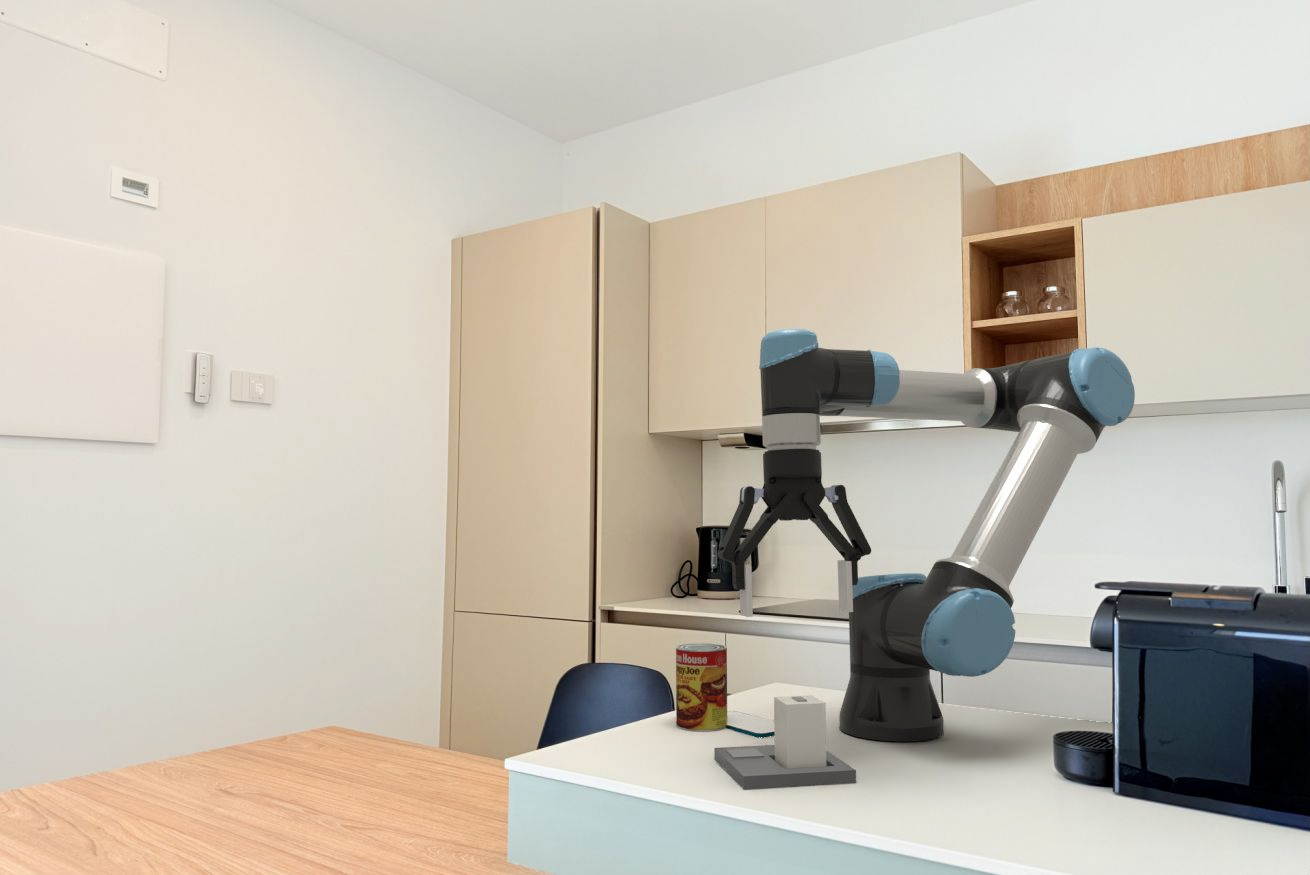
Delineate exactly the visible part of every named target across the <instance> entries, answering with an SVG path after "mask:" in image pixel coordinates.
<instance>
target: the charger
mask: <svg viewBox="0 0 1310 875" xmlns="http://www.w3.org/2000/svg"><path fill="white" fill-rule="evenodd" d="M773 707H774V708H773V710H774V715H773V716H774V720H773V721H774V730H775V736H774V745H775V762H777V763H778V764H779V765H780V766H782V767H783V768H784V769H789V768H807V767H826V750H827V729H826V728H827V724H826V721H827V720H826V715H827V713H826V702H824V701H823V700H821V699H819V698H817V697H814V696H813V695H794V696H793V695H792V696H773Z"/></svg>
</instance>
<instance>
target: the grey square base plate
mask: <svg viewBox="0 0 1310 875" xmlns="http://www.w3.org/2000/svg"><path fill="white" fill-rule="evenodd" d="M713 752H714V753H713V754H714V756H713V757H714V761H715V762H716V763H718V765H719V766H720V767H721V768H722V769H723V770H724V771H725V772H726V773H727V774H728V775H729V776H730V777H731V778H732V779H733V780H734V781H735V782H736V783H737V785H739V786H740V787H741V788H742V789H743V790H753V789H754V790H756V789H757V790H759V789H772V788H774V789H775V788H791V787H792V788H793V787H807V786H826V785H828V786H829V785H841V784H843V785H844V784H856V783H857V770H856V769H855V768H854V767H852V766H850V765H849V764H848V763H846V762H844V761H843V760H842V759H841V758H839V757H837V756H836V755H835V754H833V753H831V752H829V751H828V750H827V749H826V767H807V768H789V769H784V768H783V767H782V766H780V765H779V764H778V763H777V762H775V744H769V745H768V744H765V745H764V744H763V745H745V746H743V745H742V746H727V747H726V746H725V747H721V746H720V747H714V751H713Z"/></svg>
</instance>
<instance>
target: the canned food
mask: <svg viewBox="0 0 1310 875" xmlns="http://www.w3.org/2000/svg"><path fill="white" fill-rule="evenodd" d="M727 649H728V647H727V645H724V644H719V643H710V642H709V643H705V642H702V643H701V642H697V643H696V642H695V643H684V644H683V643H682V644H679V645H676V647H675V687H676V688H675V697H676V698H675V700H676V701H675V702H676V703H675V704H676V705H675V706H676V707H675V709H676V710H675V711H676V713H675V714H676V716H675V717H676V718H675V719H676V720H675V722H676V725H675V726H676V727H677V728H678V729H680V730H684V731H690V732H706V733H707V732H715V731H722V730H725V729H727V728H726V724H727V712H728V659H727V658H728V656H727V655H728V653H727Z"/></svg>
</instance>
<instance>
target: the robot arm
mask: <svg viewBox="0 0 1310 875" xmlns="http://www.w3.org/2000/svg"><path fill="white" fill-rule="evenodd" d="M759 351H760V353H759V365H758V367H759V368H758V369H759V370H760V372H759V374H760V391H761V392H760V393H761V394H760V395H761V398H760V399H761V424H762V426H761V427H762V428H761V429H762V446H763V447H765V448H767V450H766V451H764V453H763V454H762V463H763V465H762V466H763V487H762V488H757V487H753V486H749V485H748V486H743V487H741V488H740V490H739V492H740V493H739V500H738V501H739V502H738V505H737V507H736V510H735V512H734V515H733V517H732V519H731V522H730V524H729V525H728V528H727V531H726V533H725V534H724V536H723V540H722V541H721V543H720V546H719V548H718V551H717V554H716V556H717V557H718V558H719V559H721V560H724V561H727V562H729V563H730V565H731V569H732V570H731V571H732V573H731V574H732V579H731V580H732V587H733V589H734V590H736V591H739V604H740V606H739V607H740V608H739V609H740V610H739V611H740V614H739V615H740V616H742V617H746V618H752V617H754V615H753V614H754V613H753V611H754V610H753V606H754V605H753V578H752V577H753V576H752V575H753V574H752V573H753V572H752V564H750V563H749V564H748V563H746V561H748V559H749V557H750V556H751V554H752V553H753V552H754V551H755V549H756V548H757V546H758V545H759V544H760V543H761V541H763V539H764V538H765V536H766V535H767V533H768V532H769V531H770V529H771V528H772V527H773V526H774V525H775V524H776V523H777V522H778V521H780V522H781V521H785V522H786V521H788V522H789V521H794V520H795V521H809V520H810V521H811V522H812V523H813V524H814V525H815V526H816V527H817V529H818V530H819V531H820V532H821V533H822V534H823V535H824V536H825V538H826V539H827V540H828V541H829V542H830V544H831V545H832V547H834V548H835V549H836V550H837V552H838V553H839V554H840V556H841V557H842V558H843V560H842V559H841V560H836V561H837V584H838V590H837V591H838V611H841V612H845V613H848V627H849V628H848V629H849V630H848V631H849V632H848V633H849V662H850V664H849V670H850V672H849V674H850V675H849V680H848V684H847V686H846V690H845V693H844V697H843V700H842V704H841V707H840V710H839V715H838V716H839V718H838V719H839V722H838V723H839V730H840V731H842V732H843V733H845V734H848V735H851V736H853V737H859V738H861V739H862V738H863V739H868V740H876V741H884V742H885V741H886V742H920V741H921V742H922V741H928V740H935V739H938V738H940V737H942V736H944V733H945V732H944V731H945V728H944V727H945V726H944V716H943V714H942V710H941V708H940V704H939V702H938V699H937V696H936V694H935V691H934V687H933V684H932V681H931V675H930V673H931V671H935V672H939V673H941V674H943V675H944V674H945V675H947V676H953V677H960V676H961V677H962V676H963V677H972V678H973V677H979V676H983V675H986V674H988V673H990V672H992V671H994V670H995V669H997V668H998V667H999V666H1000V665H1001V664H1002V663H1003V662H1004V661H1005V660H1006V659H1007V657H1008V656H1009V654H1010V652H1011V650H1012V649H1013V646H1014V642H1015V640H1016V629H1014V626H1013V625H1014V624H1016V619H1015V615H1014V612H1013V610H1012V607H1013V605H1014V602H1015V600H1014V597H1013V594H1012V591H1011V590H1010V586H1011V583H1012V582H1013V579H1014V577H1015V575H1016V574H1017V571H1018V570H1019V568H1020V566H1021V564H1022V562H1023V560H1024V558H1025V556H1026V555H1027V553H1028V550H1029V549H1030V547H1031V545H1032V543H1033V541H1034V538H1036V535H1037V533H1038V532H1039V530H1040V527H1041V525H1042V523H1043V522H1044V521H1045V517H1046V516H1047V514H1048V512H1049V510H1050V508H1051V506H1052V505H1053V502H1054V500H1055V498H1056V497H1057V496H1058V495H1057V494H1058V493H1059V490H1060V489H1061V487H1062V485H1063V483H1064V481H1065V479H1066V478H1067V475H1068V473H1069V471H1070V469H1071V467H1072V466H1073V464H1074V462H1075V460H1076V459H1077V456H1078V455H1080V454H1085V453H1089V452H1090V451H1092V450H1093V449H1094V447H1095V446H1096V443H1097V442H1098V440H1099V438H1100V436H1101V434H1102V432H1103V430H1104V429H1105V428H1106V427H1113V426H1114V427H1116V426H1117V425H1119V424H1121V423H1123V422H1125V421H1126V420H1127V419H1128V418H1129V417H1130V415H1131V413H1132V411H1133V409H1134V405H1135V399H1136V398H1135V397H1136V395H1135V394H1136V393H1135V386H1134V383H1133V379H1132V376H1131V372H1130V371H1129V368H1128V367H1127V365H1126V364H1125V362H1124V361H1123V360H1122V359H1121V358H1120V357H1119V355H1117V354H1116V353H1114V352H1113V351H1111V350H1109V349H1106V348H1103V347H1090V348H1089V347H1088V348H1083V347H1082V348H1076V349H1075V350H1073V351H1069V352H1064V353H1059V354H1055V355H1049V356H1045V357H1040V358H1036V359H1035V358H1034V359H1030V360H1025V361H1020V362H1017V363H1012V364H1008V365H1004V366H1000V367H999V366H998V367H992V368H991V367H990V368H982V367H981V368H979V367H976V368H974V367H973V368H971V369H969V370H967V371H965V372H964V373H960V372H959V373H958V372H957V373H954V372H939V371H922V370H905V369H900V367H899V365H898V362H897V361H896V359H895V357H894V356H892V355H891V354H889V353H887V352H881V351H875V350H874V351H873V350H872V349H867V350H861V349H860V350H856V349H834V348H833V349H831V348H824V347H819V342H818V336H817V334H816V333H815V331H813V330H808V329H805V328H785V329H778V330H773V331H771V332H768V333H766V334H765V335H764V336H763V337H762V338H761V342H760V350H759ZM820 417H851V418H852V417H853V418H854V417H856V418H876V419H879V418H880V419H903V420H904V419H905V420H906V419H907V420H924V421H926V420H927V421H928V420H929V421H948V422H949V421H950V422H951V421H954V422H961V423H962V424H963V425H964V426H965V427H968V428H972V429H985V430H988V429H989V430H996V431H997V430H998V431H1005V432H1014V433H1015V432H1016V433H1017V436H1016V437H1015V440H1014V441H1013V443H1012V445H1011V447H1010V448H1009V450H1008V452H1007V454H1006V456H1005V458H1004V460H1003V461H1002V463H1001V465H1000V466H999V468H998V470H997V472H996V474H995V476H994V477H993V480H992V481H991V483H990V484H989V486H988V488H987V490H986V493H985V494H984V496H983V498H982V499H981V501H980V503H979V505H978V507H977V509H976V511H975V512H974V514H973V516H972V518H971V520H970V522H969V523H968V525H967V527H966V528H965V531H964V532H963V534H962V536H961V538H960V540H959V541H958V543H957V545H956V547H955V549H954V551H953V552H952V554H951V556H949V557H946V558H945V557H944V558H941V559H938V560H936V561H935V562H934V564H933V565H932V568H931V569H930V571H929V572H928V575H927V576H926V575H925V574H923V573H917V572H916V573H914V572H913V573H890V574H879V575H877V574H876V575H869V576H859V567H858V566H859V565H858V564H859V561H860V560H861V559H862V558H863V557H864V556H868V555H869V556H870V554H871V553H872V548H871V546H870V544H869V542H868V540H867V538H866V536H865V534H864V531H863V530H862V527H861V526H860V523H859V522H858V520H857V518H856V516H855V514H854V511H853V510H852V508H851V505H850V504H849V501H848V498H847V490H846V489H847V488H846V487H845V485H843V484H837V485H836V484H835V485H834V484H833V485H831V486H829V487H824V486H823V481H822V476H823V474H822V473H823V472H822V471H823V470H822V467H823V466H822V452H820V450H819V449H817V447H819V446H820V445H821V443H822V442H821V441H822V440H821V418H820ZM825 498H826V499H827V501H828V502H829V503H831V505H832V508H833V511H834V512H835V514H836V516H837V518H838V520H839V522H840V524H841V526H842V529H843V530H844V532H845V534H846V535H847V538H848V539H847V538H846V537H845V536H844V534H843V533H842V532H841V531H840V530H839V528H838V527H837V526H836V525H835V524H834V523H833V521H832V520H831V519H830V518H829V515H828V513H826V511H825V509H823V508H822V506H821V504H822V502H823V500H824V499H825ZM759 499H762V501H763V502H764V504H765V505H766V508H765V510H764V511H763V512H762V514H761V515H760V517H759V519H758V521H757V522H756V523H755V524H754V526H753V527H752V528H751V530H750V531H749V533H748V534H747V535H746V536H745V537H744V539H743V540H742V541H741V543H740V544H739V546H738V547H737V545H738V542H739V541H740V539H741V536H742V533H743V531H744V529H745V526H746V525H747V522H748V520H749V518H750V516H751V513H752V511H753V508H754V505H756V504H758V502H759ZM848 540H849V541H848ZM736 547H737V548H736Z"/></svg>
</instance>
